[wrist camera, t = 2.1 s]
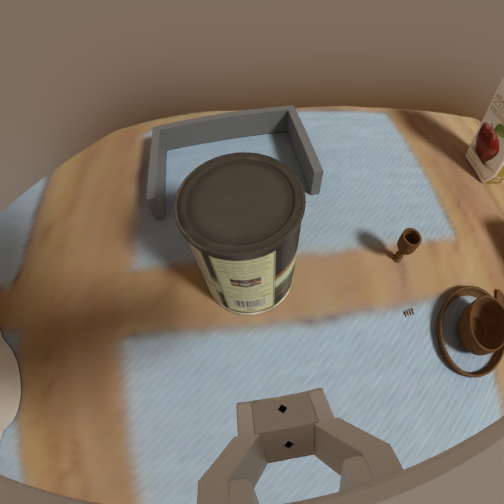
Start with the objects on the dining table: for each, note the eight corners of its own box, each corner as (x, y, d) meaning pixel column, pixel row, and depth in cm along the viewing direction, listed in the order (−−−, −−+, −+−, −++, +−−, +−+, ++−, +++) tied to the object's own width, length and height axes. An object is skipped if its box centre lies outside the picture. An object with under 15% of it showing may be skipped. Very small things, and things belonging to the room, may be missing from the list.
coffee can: (265, 223, 39) (263, 137, 27) (310, 288, 34) (332, 216, 22) (192, 258, 37) (157, 181, 25) (229, 332, 32) (204, 280, 20)
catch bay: (156, 219, 40) (146, 199, 36) (160, 147, 47) (153, 127, 44) (319, 193, 41) (323, 171, 37) (292, 126, 48) (293, 105, 44)
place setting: (429, 404, 27) (456, 401, 22) (378, 254, 37) (393, 229, 31) (518, 349, 28) (544, 338, 23) (469, 229, 38) (488, 207, 32)
